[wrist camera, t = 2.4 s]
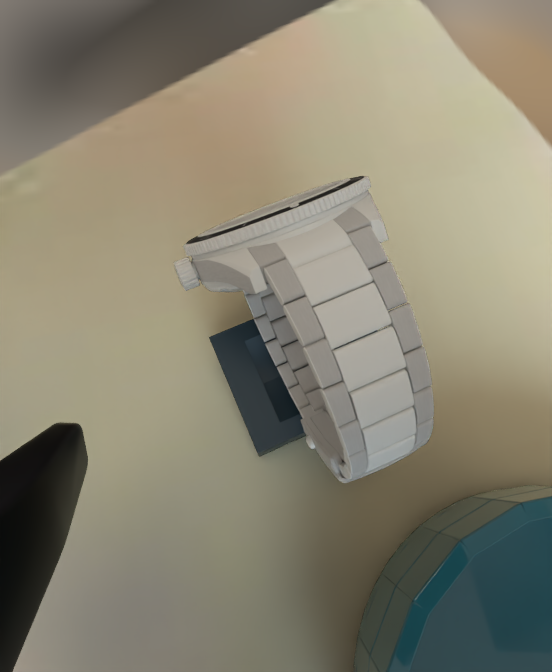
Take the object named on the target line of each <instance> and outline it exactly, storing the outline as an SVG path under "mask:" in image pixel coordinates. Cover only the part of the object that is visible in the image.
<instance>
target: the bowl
mask: <svg viewBox="0 0 552 672" xmlns="http://www.w3.org/2000/svg"><path fill="white" fill-rule="evenodd" d="M353 672H552V486H531V485H528V486H521V487H516V488H505V489H498V490H493V491H489V492H484V493H480V494H477V495H474V496H471V497H469V498H466V499H463V500H461V501H458V502H456V503H454V504H452V505H451V506H449V507H447V508H445V509H443V510H441V511H440V512H438V513H436V514H435V515H434V516H432V517H431V518H430V519H428V520H427V521H426V522H424V523H423V524H422V525H420V526H419V527H418V528H417V529H416V530H415V531H414V532H413V533H412V534H411V535H410V536H409V537H408V538H407V539H406V540H405V541H404V542H403V543H402V544H401V546H400V547H399V548H398V550H397V551H396V552H395V554H394V555H393V556H392V558H391V559H390V560H389V562H388V563H387V564H386V566H385V568H384V570H383V571H382V573H381V575H380V577H379V579H378V580H377V582H376V584H375V586H374V588H373V591H372V593H371V596H370V598H369V601H368V603H367V606H366V608H365V611H364V614H363V618H362V622H361V626H360V630H359V633H358V637H357V644H356V652H355V659H354V670H353Z"/></svg>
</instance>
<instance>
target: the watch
mask: <svg viewBox="0 0 552 672" xmlns="http://www.w3.org/2000/svg"><path fill="white" fill-rule="evenodd" d="M370 187H371V184H370V180H369V177H368V176H359V177H355V178H350V179H344V180H340V181H336V182H332V183H329V184H326V185H323V186H320V187H317V188H314V189H311V190H308V191H305V192H302V193H299V194H296V195H294V196H291V197H288V198H285V199H283V200H280V201H277V202H275V203H272V204H269V205H267V206H264V207H261V208H259V209H256V210H254V211H251V212H249V213H246V214H244V215H241V216H239V217H236V218H234V219H231V220H229V221H227V222H224V223H222V224H220V225H217V226H215V227H213V228H211V229H209V230H207V231H205V232H203V233H201V234H200V235H198V236H197V237H195V238H193V239H191V240H190V241H188V242H187V243H186V244H185V245H184V246H183V248H184V250H185V252H186V255H188V256H192V262H191V261H190V259H189V258H188V257H186V258H183V259H181V260H178V261H175V262H174V266H175V270H176V273H177V276H178V278H179V280H180V282H181V284H182V286H183V287H184V289H185V290H186V291H187V290H189V289H192V288H194V287H197V286H199V285H200V284H199V279H200V280H201V282H202V284H203V285H204V286H205V287H206V288H207V289H208V290H209V291H213V292H238V291H243V292H244V296H245V299H246V301H247V303H248V306H249V308H250V310H251V313H252V315H253V317H254V319H252V320H250V321H247V322H245V323H242V324H240V325H237V326H235V327H233V328H230V329H228V330H225V331H223V332H221V333H218V334H216V335H213V336H211V337H209V339H210V341H211V343H212V346H213V348H214V350H215V353H216V355H217V358H218V360H219V362H220V365H221V367H222V370H223V372H224V374H225V377H226V379H227V381H228V384H229V386H230V389H231V391H232V393H233V396H234V398H235V401H236V403H237V405H238V408H239V410H240V412H241V415H242V417H243V420H244V422H245V424H246V427H247V429H248V432H249V434H250V436H251V439H252V441H253V443H254V446H255V448H256V451H257V453H258V455H259V456H262V455H264V454H266V453H268V452H271V451H273V450H275V449H277V448H279V447H282V446H284V445H286V444H288V443H291V442H293V441H295V440H297V439H299V438H302V437H304V436H306V435H307V437H306V442H307V444H308V446H309V447H310V448H311V449H314V448H315V450H316V451H317V453H318V454H319V456H320V457H321V459H322V460H323V462H324V463H325V464H326V466H327V467H328V468H329V470H330V471H331V472H332V473H333V474H334V476H335V477H336V478H337V479H338V480H339V481H340V482H343V483H347V482H350V481H353V480H356V479H359V478H362V477H364V476H367V475H369V474H372V473H374V472H376V471H379V470H381V469H383V468H385V467H387V466H389V465H391V464H393V463H395V462H397V461H399V460H401V459H403V458H405V457H406V456H408V455H410V454H411V453H413V452H414V451H416V450H417V449H418V448H419V447H421V446H423V445H425V444H426V443H427V442H428V441H429V438H430V436H431V433H432V429H433V422H434V421H433V416H434V400H433V391H432V388H431V385H432V379H431V373H430V368H429V363H428V358H427V354H426V350H425V348H424V347H423V346H421V345H422V344H423V343H422V339H421V335H420V332H419V328H418V325H417V322H416V319H415V316H414V313H413V310H412V308H411V305H410V304H409V303H407V304H405V305H402V304H404V303H406V302H407V297H406V294H405V292H404V290H403V287H402V285H401V282H400V280H399V278H398V276H397V274H396V271H395V269H394V267H393V265H392V263H391V262H387V261H388V257H387V255H386V253H385V251H384V249H383V247H382V245H381V242H384V241H386V240H388V236H387V232H386V229H385V225H384V222H383V220H382V218H381V215H380V213H379V211H378V209H377V207H376V205H375V203H374V201H373V199H372V196H371V194H370V193H369V192H368V189H369V188H370ZM399 305H402V306H400V307H398V308H395V307H397V306H399ZM392 308H395V309H393V310H391V311H387V310H390V309H392ZM265 313H266V314H265ZM263 314H264V315H263ZM258 316H259V317H258ZM385 326H388V327H386V328H384V329H381V328H383V327H385ZM379 329H381V330H379ZM377 330H379V331H377Z"/></svg>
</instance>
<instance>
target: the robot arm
mask: <svg viewBox="0 0 552 672" xmlns="http://www.w3.org/2000/svg"><path fill="white" fill-rule="evenodd" d="M87 465H88V456H87V451H86V446H85V441H84V436H83V431H82V428H81V426H80V425H79V424H77V423H56V424H54V425H52V426H51V427H49V428H48V429H46V430H45V431H43V432H42V433H40V434H39V435H37V436H36V437H34V438H33V439H32V440H30V441H29V442H27V443H26V444H24V445H23V446H21V447H20V448H18V449H17V450H15V451H14V452H12V453H11V454H9V455H8V456H7V457H5V458H4V459H2V460H1V461H0V672H12V671H13V669H14V666H15V664H16V661H17V659H18V657H19V654H20V652H21V649H22V647H23V645H24V642H25V640H26V637H27V635H28V633H29V630H30V628H31V625H32V623H33V621H34V618H35V616H36V613H37V611H38V609H39V606H40V604H41V601H42V599H43V597H44V594H45V592H46V589H47V587H48V585H49V582H50V580H51V577H52V575H53V573H54V570H55V568H56V565H57V563H58V561H59V558H60V556H61V553H62V550H63V548H64V545H65V542H66V539H67V535H68V532H69V529H70V525H71V522H72V518H73V515H74V512H75V508H76V505H77V501H78V498H79V494H80V491H81V487H82V484H83V481H84V477H85V474H86V470H87Z"/></svg>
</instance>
